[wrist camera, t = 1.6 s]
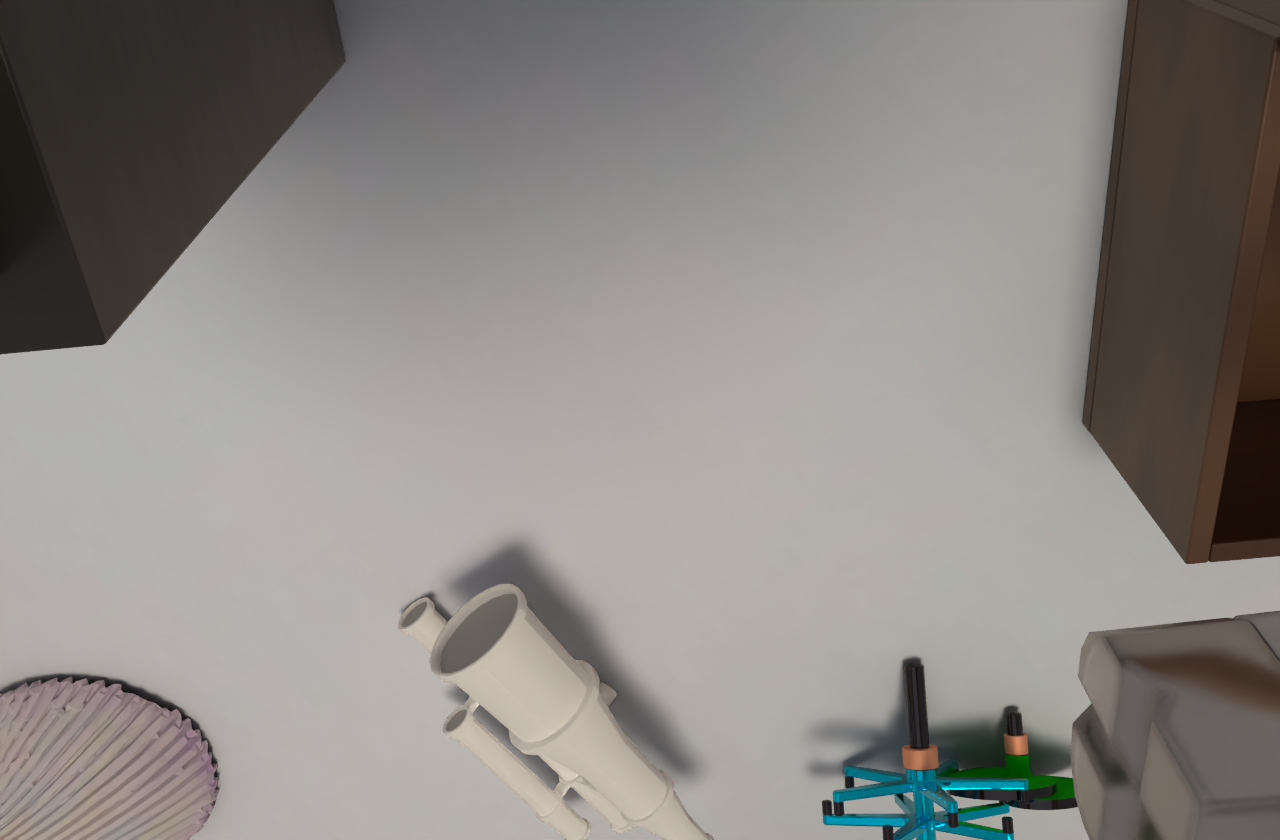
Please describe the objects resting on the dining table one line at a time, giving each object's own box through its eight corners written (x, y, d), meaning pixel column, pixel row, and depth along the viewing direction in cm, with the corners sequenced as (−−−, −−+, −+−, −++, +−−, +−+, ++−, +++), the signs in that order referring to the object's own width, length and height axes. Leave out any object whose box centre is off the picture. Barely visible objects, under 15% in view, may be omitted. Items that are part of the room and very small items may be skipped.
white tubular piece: (652, 759, 53) (583, 863, 50) (448, 554, 47) (360, 661, 45) (772, 802, 46) (699, 924, 44) (553, 571, 41) (456, 696, 38)
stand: (42, -172, 33) (-601, -94, 15) (293, -197, 32) (-65, -149, 15) (119, 83, 36) (-335, 386, 19) (346, 62, 36) (106, 345, 18)
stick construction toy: (790, 833, 50) (890, 883, 42) (780, 664, 50) (877, 685, 43) (1026, 796, 54) (1155, 836, 46) (1014, 641, 54) (1139, 656, 47)
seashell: (-140, 803, 46) (15, 739, 42) (-50, 697, 50) (98, 629, 46) (54, 949, 50) (212, 904, 46) (121, 839, 55) (271, 789, 50)
